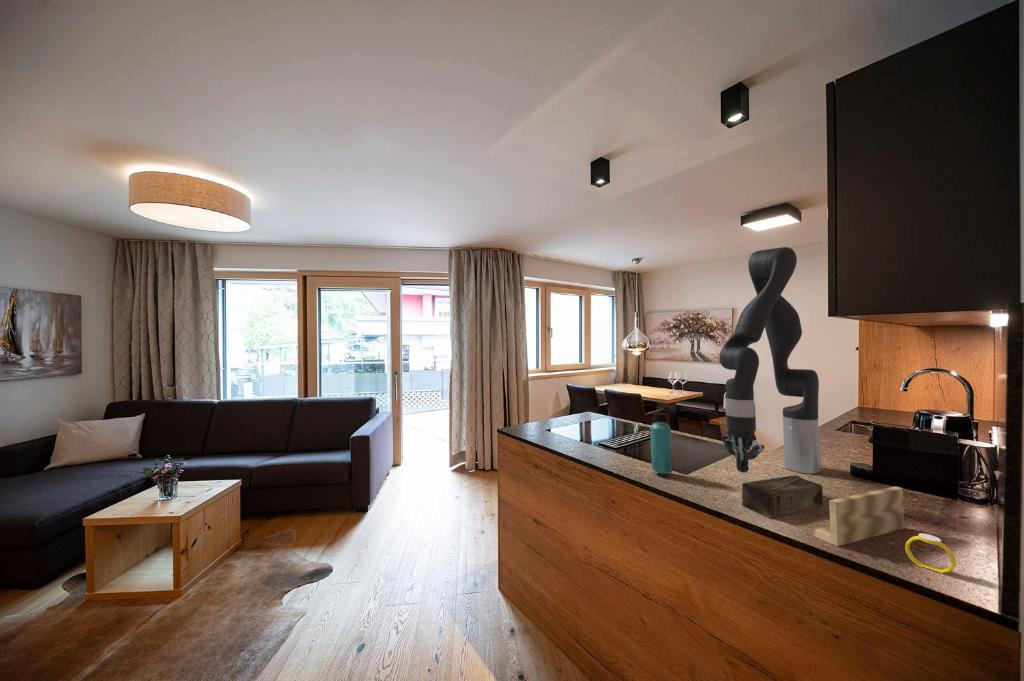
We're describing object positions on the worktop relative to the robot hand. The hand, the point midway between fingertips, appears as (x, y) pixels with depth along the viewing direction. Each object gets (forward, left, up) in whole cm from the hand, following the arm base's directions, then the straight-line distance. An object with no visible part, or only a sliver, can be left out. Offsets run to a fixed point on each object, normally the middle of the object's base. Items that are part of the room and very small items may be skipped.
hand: (742, 471), depth 107 cm
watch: (+4, +41, -4) cm, 42 cm away
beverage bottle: (+16, -15, -4) cm, 23 cm away
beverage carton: (+3, +14, -5) cm, 15 cm away
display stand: (0, +29, -4) cm, 29 cm away
